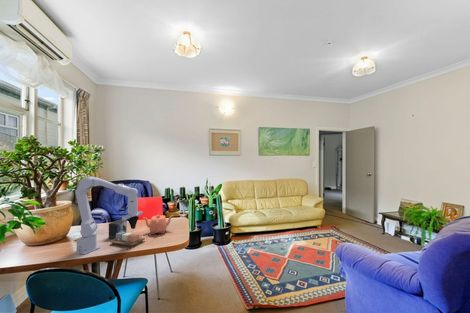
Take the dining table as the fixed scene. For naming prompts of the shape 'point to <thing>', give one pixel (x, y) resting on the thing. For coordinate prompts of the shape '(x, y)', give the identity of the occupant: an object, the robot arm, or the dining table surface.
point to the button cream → (126, 236)
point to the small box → (117, 228)
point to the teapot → (158, 224)
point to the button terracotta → (133, 237)
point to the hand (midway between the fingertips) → (133, 228)
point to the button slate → (120, 235)
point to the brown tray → (126, 243)
